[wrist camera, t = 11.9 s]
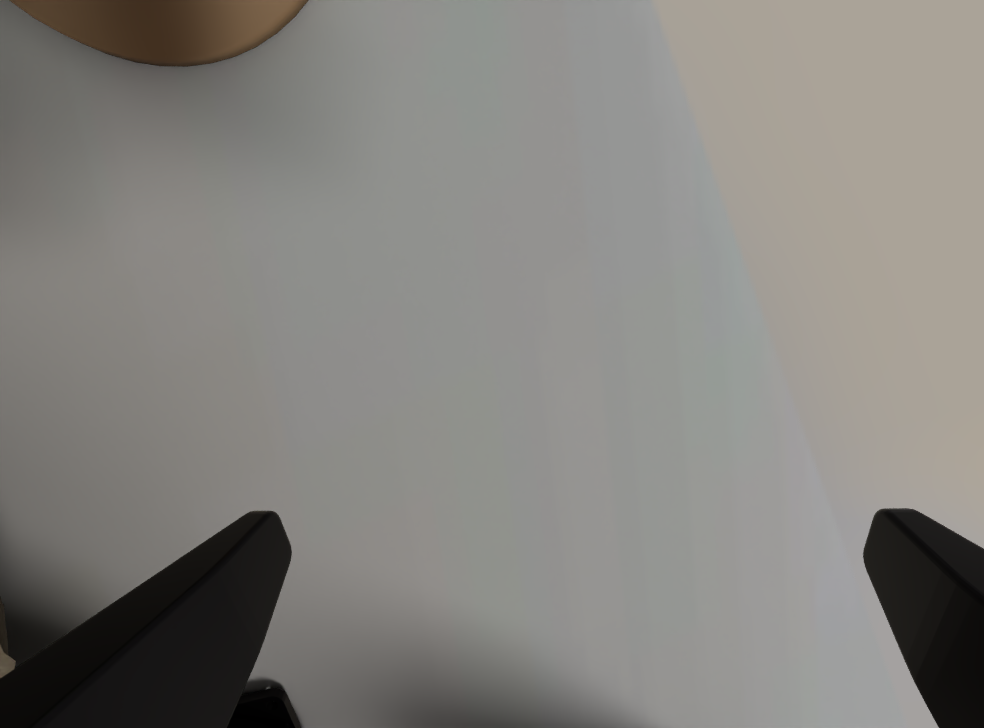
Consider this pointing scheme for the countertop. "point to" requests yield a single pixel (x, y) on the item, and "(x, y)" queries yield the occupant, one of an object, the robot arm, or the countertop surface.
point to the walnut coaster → (166, 26)
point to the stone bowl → (4, 646)
